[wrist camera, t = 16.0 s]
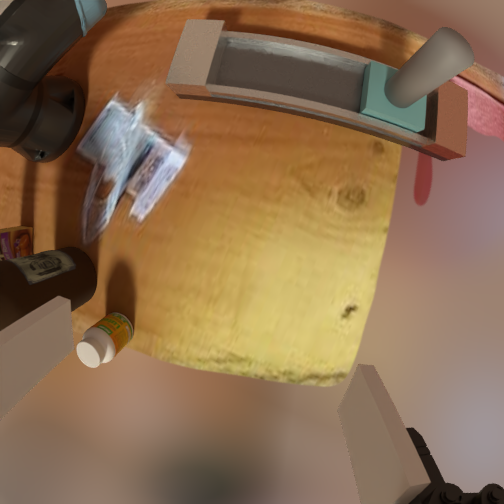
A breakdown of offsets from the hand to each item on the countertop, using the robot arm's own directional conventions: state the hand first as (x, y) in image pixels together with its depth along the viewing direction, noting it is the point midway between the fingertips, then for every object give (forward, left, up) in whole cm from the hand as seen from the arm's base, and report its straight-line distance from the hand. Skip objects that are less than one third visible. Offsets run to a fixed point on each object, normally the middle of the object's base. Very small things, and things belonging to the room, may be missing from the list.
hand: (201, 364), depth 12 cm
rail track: (-5, +24, -27) cm, 37 cm away
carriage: (+2, +27, -25) cm, 37 cm away
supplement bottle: (-9, -22, -28) cm, 37 cm away
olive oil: (-20, -20, -28) cm, 40 cm away
